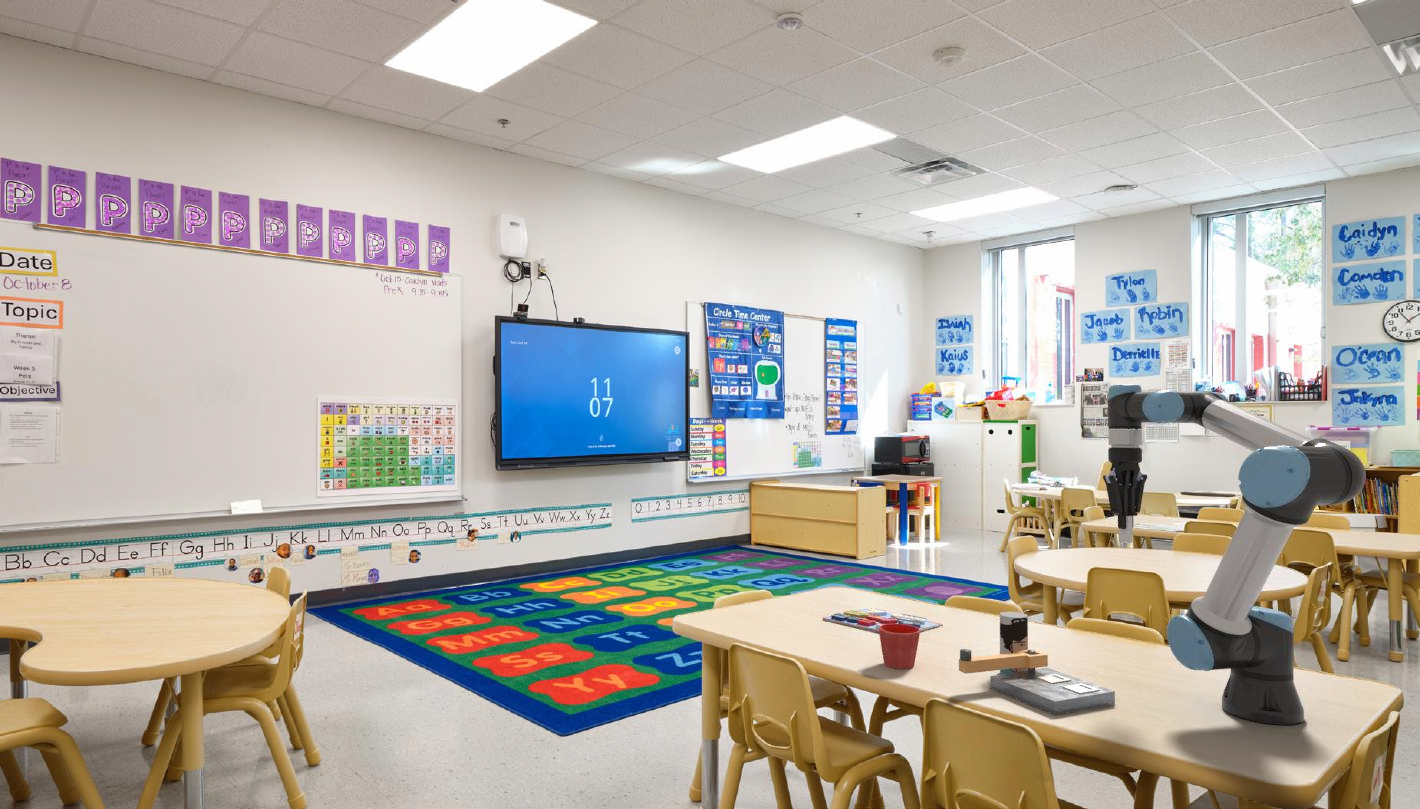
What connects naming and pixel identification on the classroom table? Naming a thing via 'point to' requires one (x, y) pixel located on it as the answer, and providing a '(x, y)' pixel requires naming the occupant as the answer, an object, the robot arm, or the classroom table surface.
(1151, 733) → the classroom table surface
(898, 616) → the puzzle board
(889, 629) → the flower pot
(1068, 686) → the board
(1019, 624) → the printed cylinder
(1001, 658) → the bar
